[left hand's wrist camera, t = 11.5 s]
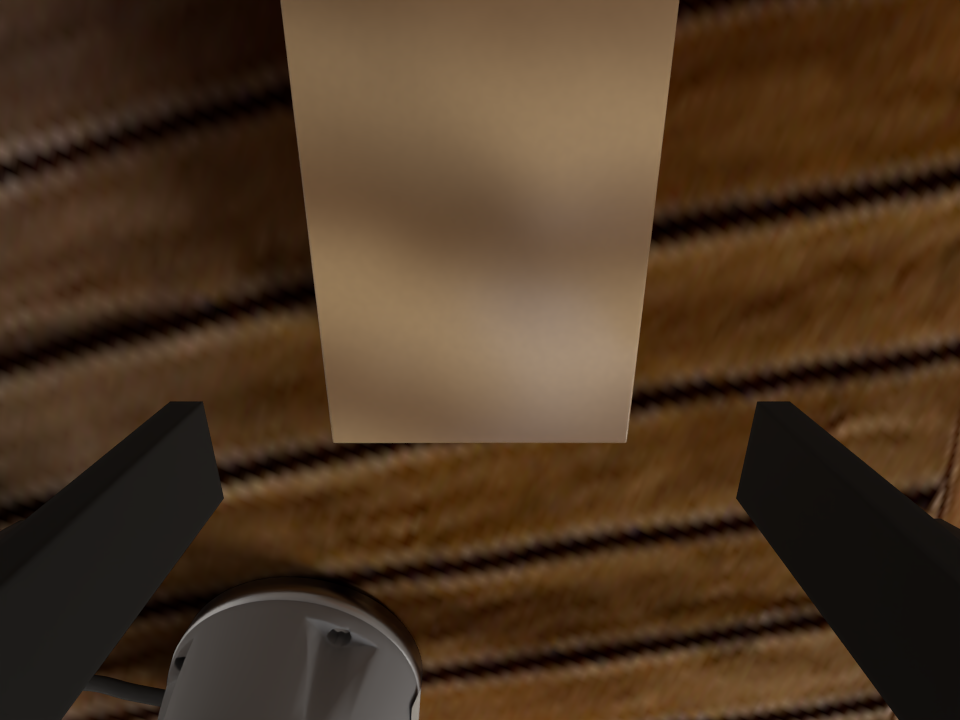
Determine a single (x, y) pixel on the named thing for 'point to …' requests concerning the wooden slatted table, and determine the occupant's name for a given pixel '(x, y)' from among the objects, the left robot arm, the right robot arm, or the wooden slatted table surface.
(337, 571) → the wooden slatted table surface
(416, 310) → the cabinet
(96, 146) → the wooden slatted table surface
